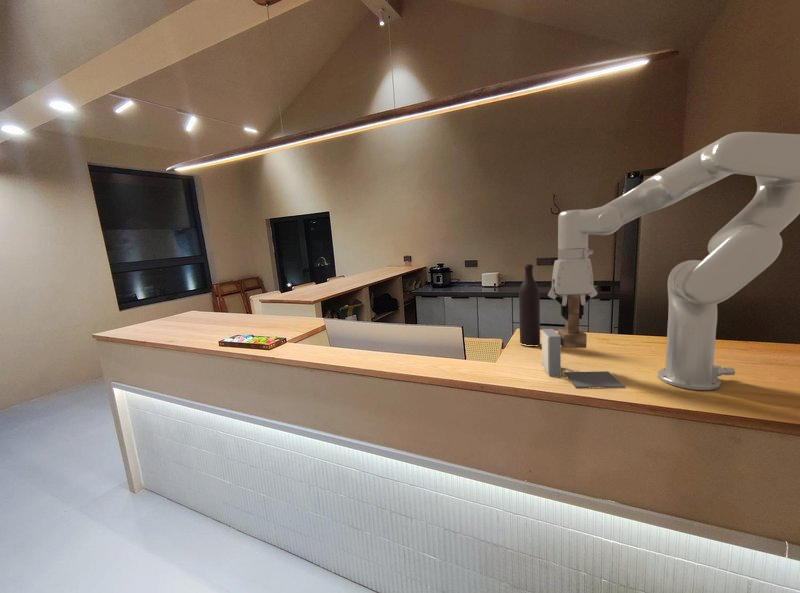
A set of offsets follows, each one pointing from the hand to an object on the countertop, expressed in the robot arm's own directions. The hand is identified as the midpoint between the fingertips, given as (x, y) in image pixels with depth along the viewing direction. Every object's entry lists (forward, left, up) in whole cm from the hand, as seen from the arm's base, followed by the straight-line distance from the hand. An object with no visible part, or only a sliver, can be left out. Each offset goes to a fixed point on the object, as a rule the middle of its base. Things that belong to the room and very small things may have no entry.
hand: (571, 317), depth 100 cm
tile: (+6, 0, -16) cm, 17 cm away
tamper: (0, 0, -8) cm, 8 cm away
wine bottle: (+6, -26, -17) cm, 31 cm away
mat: (-3, +7, -16) cm, 18 cm away
